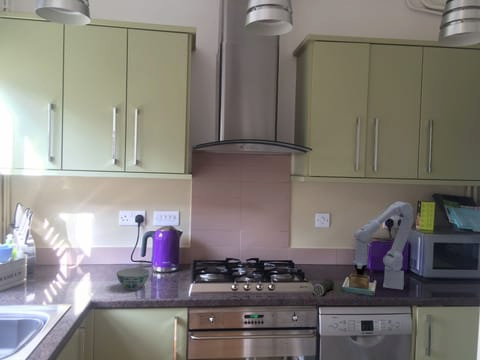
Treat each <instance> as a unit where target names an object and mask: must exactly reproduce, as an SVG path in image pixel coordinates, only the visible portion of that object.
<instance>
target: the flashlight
mask: <svg viewBox="0 0 480 360" xmlns="http://www.w3.org/2000/svg"><path fill="white" fill-rule="evenodd" d="M334 287H335V281H334V279H332V278H325V279H324V280H323V281H320V282H318V283H316V284H314V285H313V287H312V292H313V294H314V296H319V297H321V296H323V295H324V294H325V293H326V292H328V291H330V290H331V289H333V288H334Z"/></svg>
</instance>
